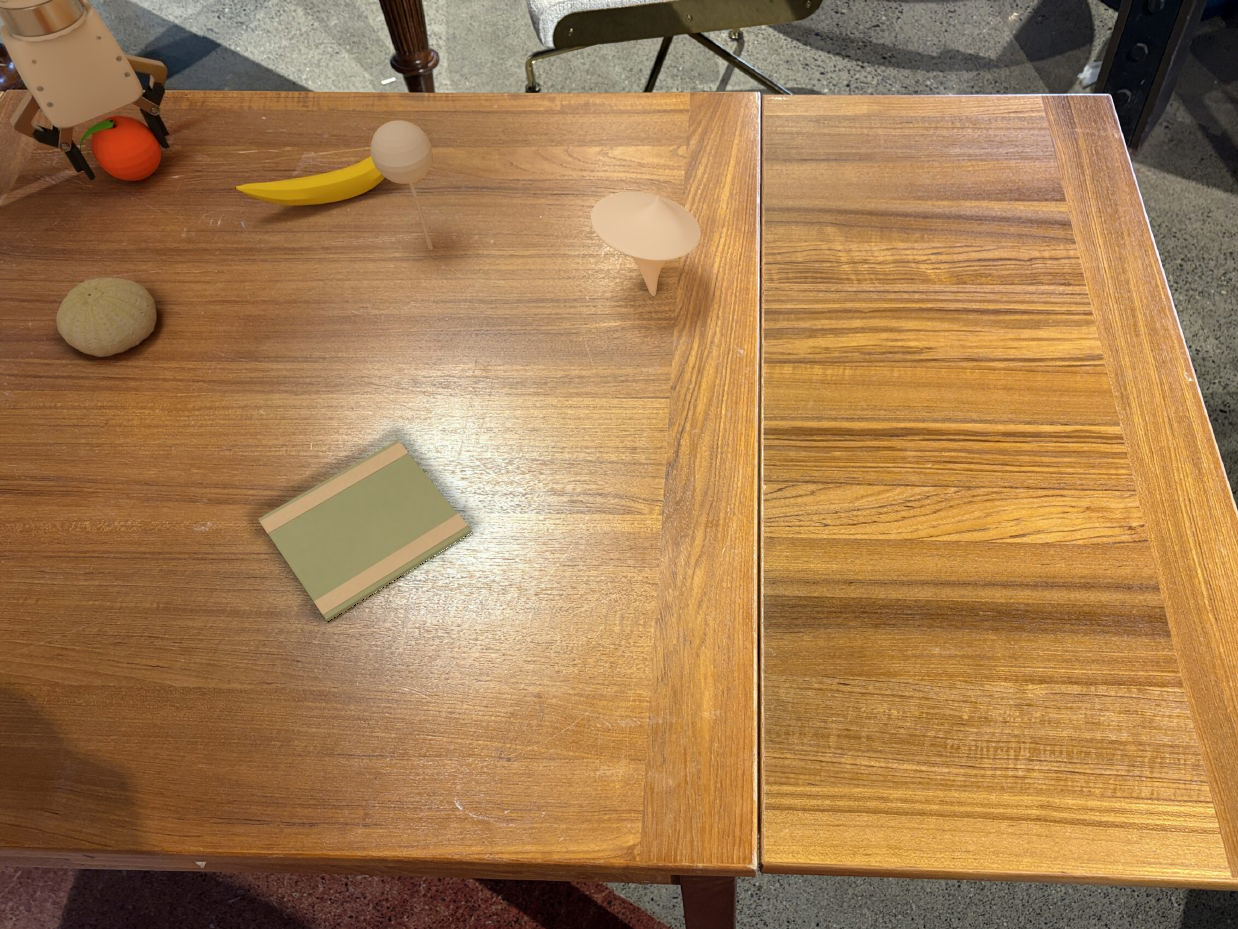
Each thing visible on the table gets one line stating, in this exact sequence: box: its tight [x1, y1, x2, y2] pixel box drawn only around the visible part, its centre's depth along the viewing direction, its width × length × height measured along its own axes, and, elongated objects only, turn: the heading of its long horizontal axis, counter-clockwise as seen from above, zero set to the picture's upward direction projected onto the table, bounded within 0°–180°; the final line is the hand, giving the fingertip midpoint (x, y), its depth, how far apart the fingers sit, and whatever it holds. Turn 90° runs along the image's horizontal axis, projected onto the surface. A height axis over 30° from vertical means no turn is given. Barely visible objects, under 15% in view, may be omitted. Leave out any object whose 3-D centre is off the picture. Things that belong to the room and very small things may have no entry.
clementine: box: [79, 115, 162, 182], centre depth 114 cm, size 8×7×7 cm
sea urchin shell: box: [55, 277, 158, 358], centre depth 101 cm, size 9×8×8 cm
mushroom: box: [590, 190, 702, 297], centre depth 100 cm, size 10×11×12 cm
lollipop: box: [370, 119, 434, 251], centre depth 103 cm, size 6×6×15 cm
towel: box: [257, 439, 473, 622], centre depth 89 cm, size 14×13×1 cm
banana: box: [234, 155, 385, 206], centre depth 111 cm, size 3×19×6 cm, turn 115°
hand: (126, 157), depth 115 cm, fingers closed on clementine, 8 cm apart
